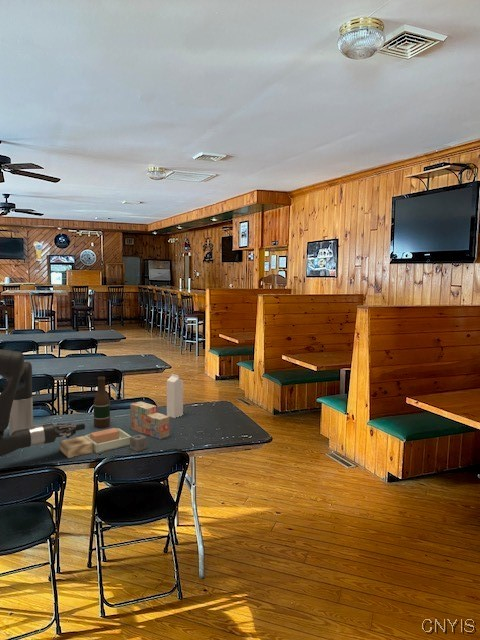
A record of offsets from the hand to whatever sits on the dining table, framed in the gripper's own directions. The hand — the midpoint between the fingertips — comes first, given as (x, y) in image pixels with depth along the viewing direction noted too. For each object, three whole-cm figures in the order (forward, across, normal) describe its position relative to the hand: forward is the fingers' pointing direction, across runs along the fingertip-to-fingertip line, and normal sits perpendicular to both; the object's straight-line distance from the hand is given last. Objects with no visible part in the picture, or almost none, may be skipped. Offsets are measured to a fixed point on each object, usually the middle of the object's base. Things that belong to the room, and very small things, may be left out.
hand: (84, 426), depth 192 cm
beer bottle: (+18, +24, +10) cm, 31 cm away
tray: (+10, 0, +10) cm, 14 cm away
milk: (+54, +16, +10) cm, 57 cm away
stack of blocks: (+32, +2, +10) cm, 33 cm away
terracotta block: (+3, 0, +7) cm, 8 cm away
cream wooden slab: (-4, 0, +10) cm, 11 cm away
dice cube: (+18, -13, +10) cm, 25 cm away
